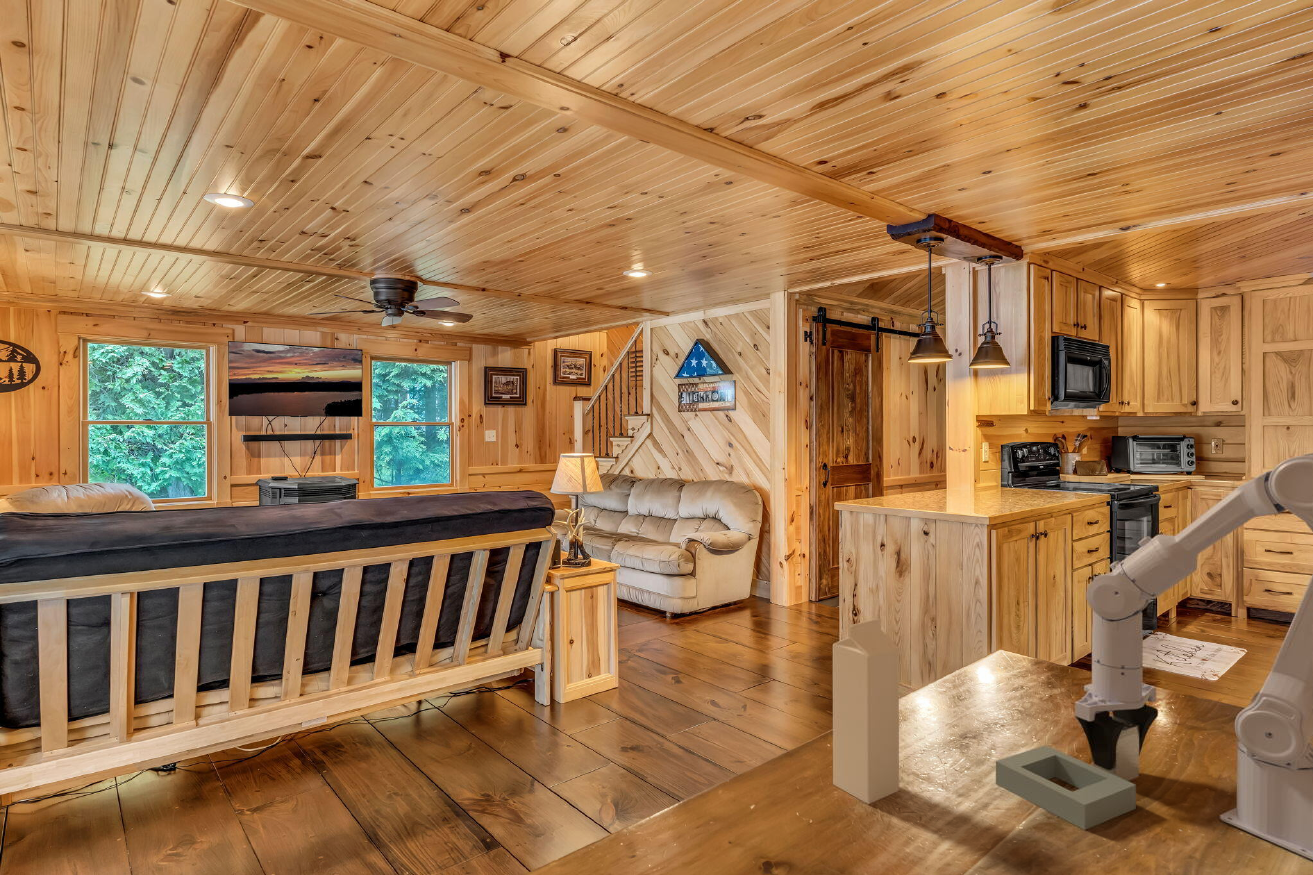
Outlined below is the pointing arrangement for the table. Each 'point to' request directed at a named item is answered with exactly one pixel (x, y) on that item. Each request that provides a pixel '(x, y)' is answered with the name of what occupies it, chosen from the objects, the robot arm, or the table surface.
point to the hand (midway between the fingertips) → (1116, 761)
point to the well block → (1082, 807)
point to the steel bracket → (1126, 752)
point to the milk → (866, 713)
